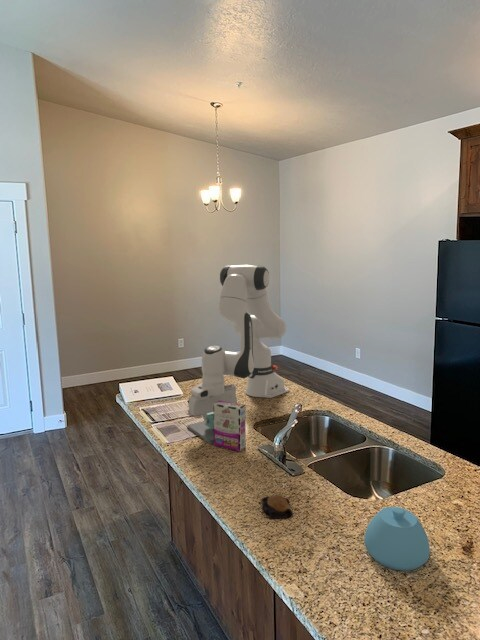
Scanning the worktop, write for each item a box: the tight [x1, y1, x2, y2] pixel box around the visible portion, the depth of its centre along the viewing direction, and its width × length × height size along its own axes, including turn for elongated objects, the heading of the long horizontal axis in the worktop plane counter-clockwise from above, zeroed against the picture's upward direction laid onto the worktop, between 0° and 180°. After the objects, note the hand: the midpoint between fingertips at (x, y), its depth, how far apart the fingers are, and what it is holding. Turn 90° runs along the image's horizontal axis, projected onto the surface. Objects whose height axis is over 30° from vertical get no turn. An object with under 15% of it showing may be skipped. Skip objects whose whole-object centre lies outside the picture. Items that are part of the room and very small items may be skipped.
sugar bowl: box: [363, 506, 431, 572], centre depth 112 cm, size 15×15×12 cm
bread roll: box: [260, 494, 293, 521], centre depth 131 cm, size 11×8×4 cm
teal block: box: [205, 412, 214, 429], centre depth 183 cm, size 5×5×5 cm
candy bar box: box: [213, 401, 247, 453], centre depth 169 cm, size 11×5×16 cm, turn 62°
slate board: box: [187, 420, 214, 445], centre depth 184 cm, size 14×18×1 cm
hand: (213, 421), depth 183 cm, fingers closed on teal block, 5 cm apart
